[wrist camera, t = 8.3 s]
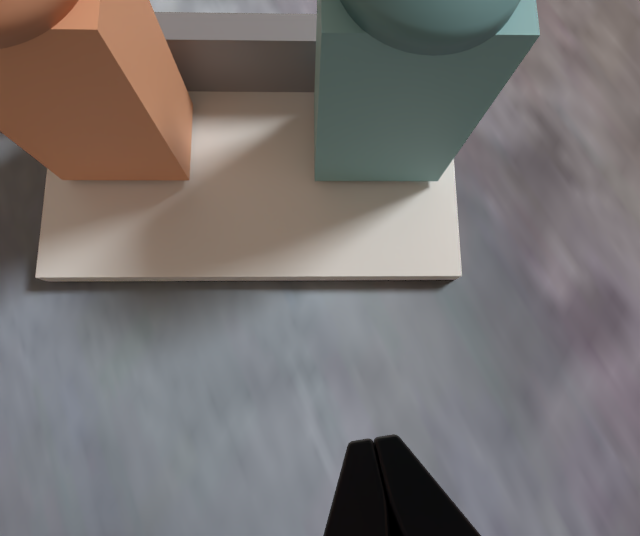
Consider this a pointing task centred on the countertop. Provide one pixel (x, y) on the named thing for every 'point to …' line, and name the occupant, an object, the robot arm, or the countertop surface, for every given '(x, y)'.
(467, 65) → the button teal
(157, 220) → the button console
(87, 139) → the orange domed block
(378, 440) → the robot arm
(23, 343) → the countertop surface
